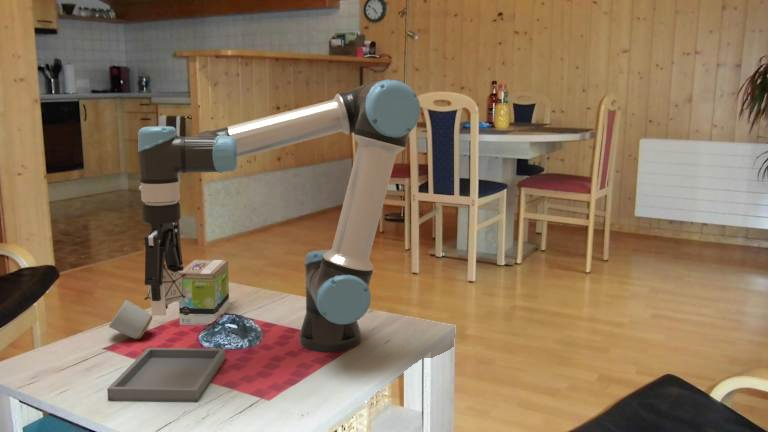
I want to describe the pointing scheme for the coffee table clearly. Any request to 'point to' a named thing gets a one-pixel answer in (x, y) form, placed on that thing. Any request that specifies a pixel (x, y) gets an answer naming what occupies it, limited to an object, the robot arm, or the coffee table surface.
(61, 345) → the coffee table surface
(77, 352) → the coffee table surface
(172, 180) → the robot arm
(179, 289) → the game die
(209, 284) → the tea box
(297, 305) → the coffee table surface
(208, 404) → the coffee table surface
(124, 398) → the tray
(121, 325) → the soft-edged grey cube
